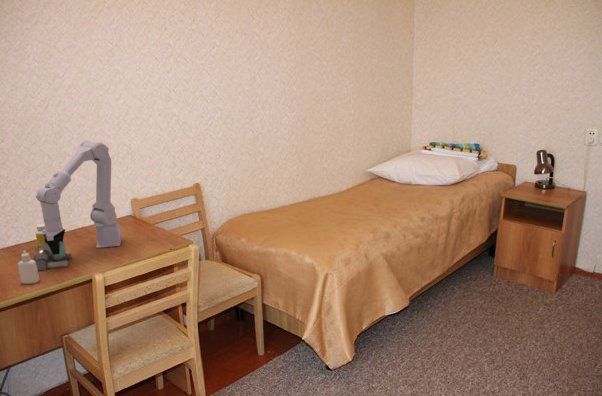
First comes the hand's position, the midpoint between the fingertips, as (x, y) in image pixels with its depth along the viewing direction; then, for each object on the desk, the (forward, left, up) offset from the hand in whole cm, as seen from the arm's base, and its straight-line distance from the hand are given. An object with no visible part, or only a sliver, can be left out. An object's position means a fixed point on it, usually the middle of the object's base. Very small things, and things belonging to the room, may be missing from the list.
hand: (57, 251), depth 180 cm
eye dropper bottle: (+6, +15, -5) cm, 17 cm away
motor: (+2, 0, -5) cm, 5 cm away
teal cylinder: (0, 0, -2) cm, 2 cm away
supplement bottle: (+9, -19, -5) cm, 22 cm away
